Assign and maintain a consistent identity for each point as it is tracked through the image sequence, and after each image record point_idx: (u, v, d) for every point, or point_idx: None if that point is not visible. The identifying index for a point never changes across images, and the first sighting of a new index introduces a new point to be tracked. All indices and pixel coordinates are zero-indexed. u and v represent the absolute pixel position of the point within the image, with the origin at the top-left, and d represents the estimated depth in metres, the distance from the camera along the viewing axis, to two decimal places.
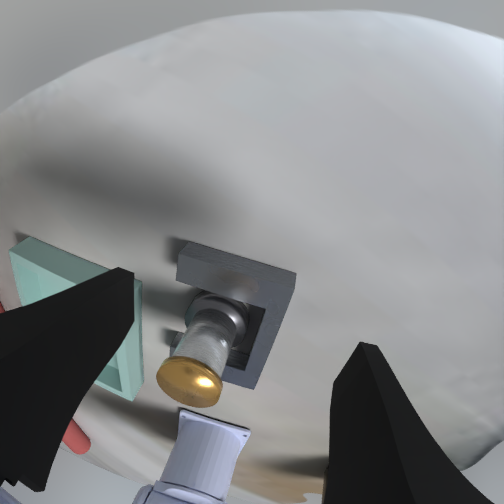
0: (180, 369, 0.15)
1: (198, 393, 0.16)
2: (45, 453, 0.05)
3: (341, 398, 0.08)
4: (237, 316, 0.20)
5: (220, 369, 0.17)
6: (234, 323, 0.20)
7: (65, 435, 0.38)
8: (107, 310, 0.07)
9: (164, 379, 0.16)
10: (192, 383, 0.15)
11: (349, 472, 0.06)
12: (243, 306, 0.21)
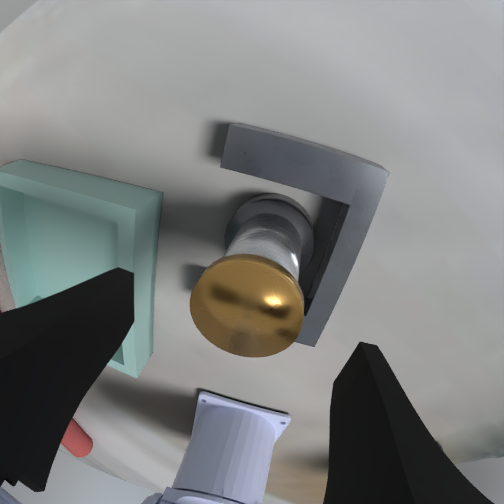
0: (240, 272, 0.09)
1: (266, 324, 0.10)
2: (45, 453, 0.05)
3: (341, 398, 0.08)
4: (305, 223, 0.14)
5: None
6: (299, 236, 0.14)
7: None
8: (107, 310, 0.07)
9: (205, 302, 0.10)
10: (258, 303, 0.09)
11: (349, 472, 0.06)
12: (308, 216, 0.15)
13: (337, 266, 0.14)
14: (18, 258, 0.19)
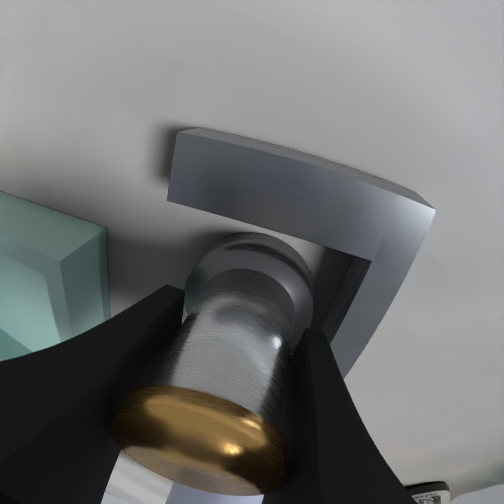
0: (171, 428, 0.04)
1: (225, 477, 0.05)
2: (99, 486, 0.05)
3: (287, 386, 0.08)
4: (300, 284, 0.09)
5: (279, 412, 0.06)
6: (291, 301, 0.09)
7: None
8: (162, 332, 0.07)
9: (130, 441, 0.05)
10: (209, 461, 0.05)
11: None
12: (306, 267, 0.10)
13: (345, 342, 0.09)
14: None
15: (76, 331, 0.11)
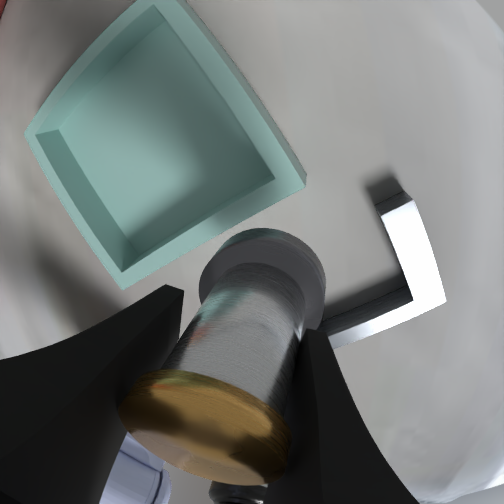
0: (177, 411, 0.05)
1: (229, 464, 0.05)
2: (98, 485, 0.05)
3: None
4: (312, 279, 0.09)
5: (285, 402, 0.06)
6: (303, 296, 0.10)
7: None
8: (160, 332, 0.07)
9: (138, 425, 0.05)
10: (212, 446, 0.05)
11: None
12: (319, 262, 0.10)
13: (372, 325, 0.17)
14: (83, 83, 0.14)
15: None
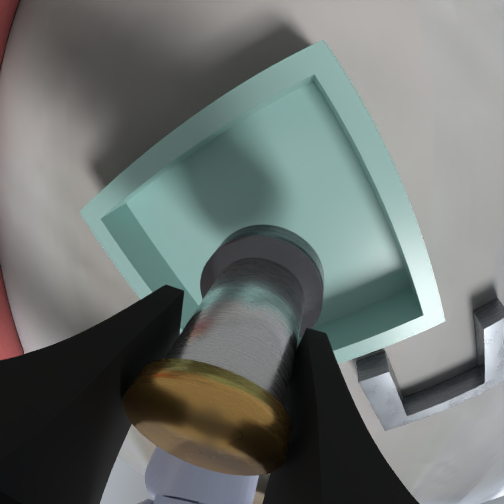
0: (177, 397, 0.05)
1: (231, 452, 0.05)
2: (98, 485, 0.05)
3: None
4: (309, 271, 0.10)
5: (284, 390, 0.06)
6: (301, 288, 0.10)
7: None
8: (161, 332, 0.07)
9: (142, 416, 0.06)
10: (213, 433, 0.05)
11: (284, 463, 0.06)
12: (316, 255, 0.11)
13: (448, 403, 0.16)
14: (178, 160, 0.12)
15: None
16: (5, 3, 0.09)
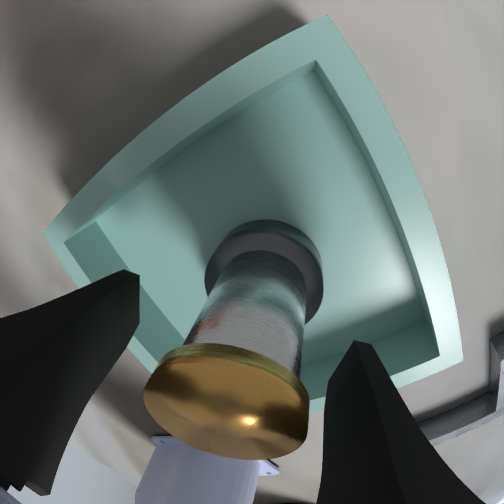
0: (205, 379, 0.05)
1: (252, 434, 0.06)
2: (51, 457, 0.05)
3: (335, 397, 0.08)
4: (311, 262, 0.10)
5: (299, 371, 0.07)
6: (304, 278, 0.10)
7: None
8: (113, 313, 0.07)
9: (163, 405, 0.06)
10: (238, 415, 0.06)
11: (342, 471, 0.06)
12: (315, 248, 0.11)
13: (456, 432, 0.14)
14: (147, 172, 0.10)
15: None
16: None
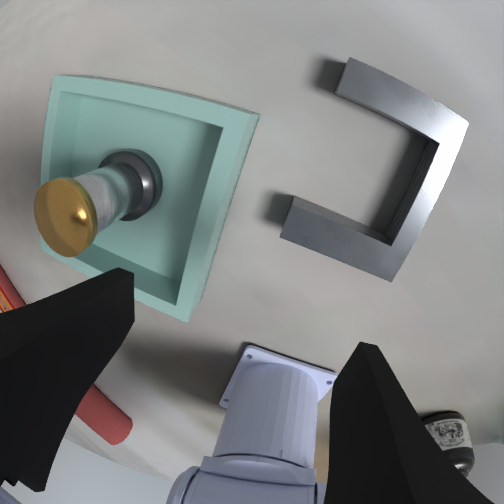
0: (39, 198, 0.12)
1: (66, 214, 0.12)
2: (45, 453, 0.05)
3: (341, 398, 0.08)
4: (123, 154, 0.16)
5: (89, 183, 0.13)
6: (127, 164, 0.16)
7: (80, 406, 0.28)
8: (107, 310, 0.07)
9: (45, 231, 0.12)
10: (54, 205, 0.11)
11: (349, 472, 0.06)
12: (136, 149, 0.17)
13: (425, 197, 0.14)
14: None
15: (228, 182, 0.15)
16: None
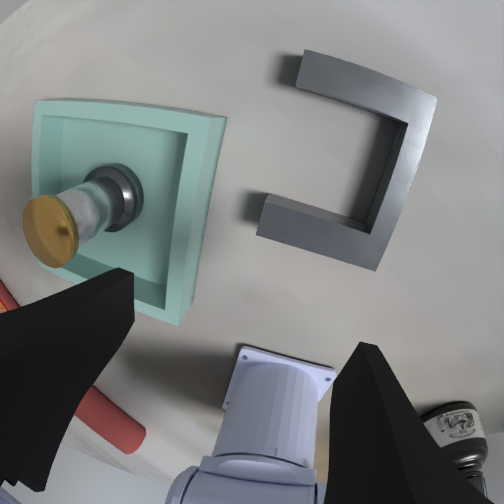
0: (26, 215, 0.12)
1: (49, 228, 0.12)
2: (45, 453, 0.05)
3: (341, 398, 0.08)
4: (104, 168, 0.17)
5: (69, 198, 0.13)
6: (108, 177, 0.17)
7: (91, 416, 0.29)
8: (107, 310, 0.07)
9: (34, 246, 0.13)
10: (39, 221, 0.12)
11: (349, 472, 0.06)
12: (116, 163, 0.18)
13: (399, 180, 0.14)
14: None
15: (199, 185, 0.15)
16: None
